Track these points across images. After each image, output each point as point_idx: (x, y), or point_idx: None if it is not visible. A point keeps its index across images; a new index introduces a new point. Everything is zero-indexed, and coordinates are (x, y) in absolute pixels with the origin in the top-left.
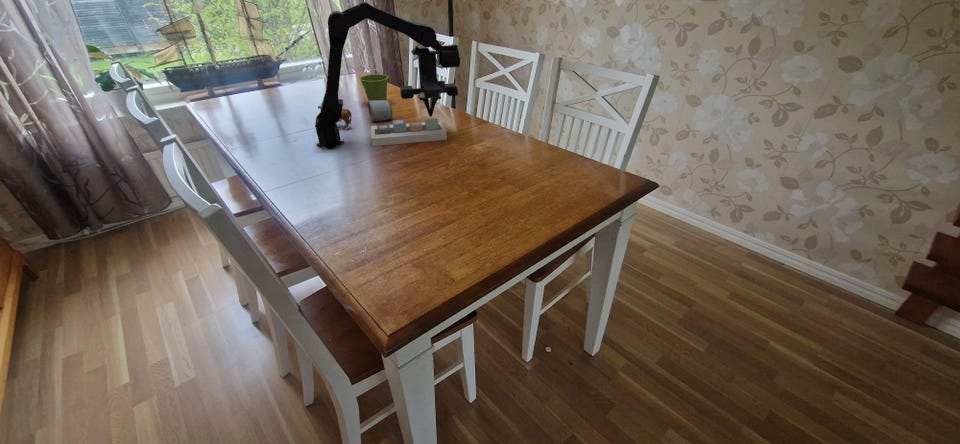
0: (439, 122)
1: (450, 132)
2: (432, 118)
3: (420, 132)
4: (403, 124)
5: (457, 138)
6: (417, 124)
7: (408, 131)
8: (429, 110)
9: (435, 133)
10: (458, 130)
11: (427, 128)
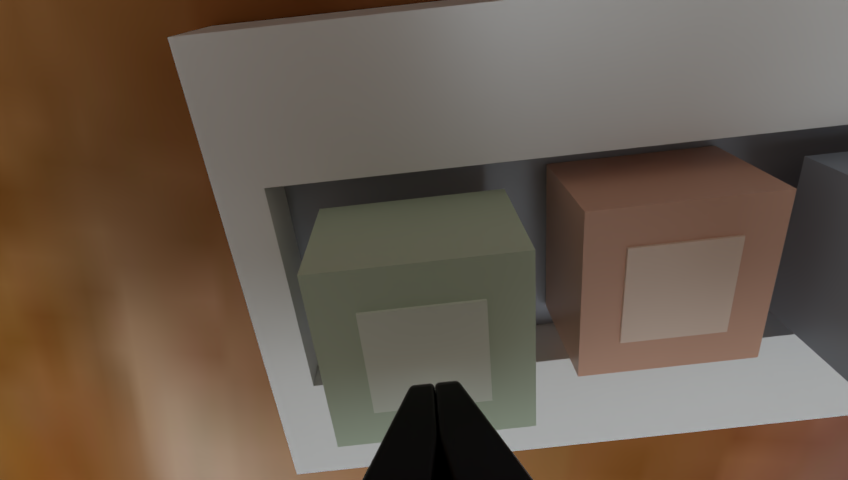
0: (310, 432)
1: (186, 276)
2: (401, 398)
3: (616, 92)
4: None
5: (55, 57)
6: (652, 286)
7: None
8: (474, 474)
9: (368, 14)
10: (93, 325)
11: (493, 203)
